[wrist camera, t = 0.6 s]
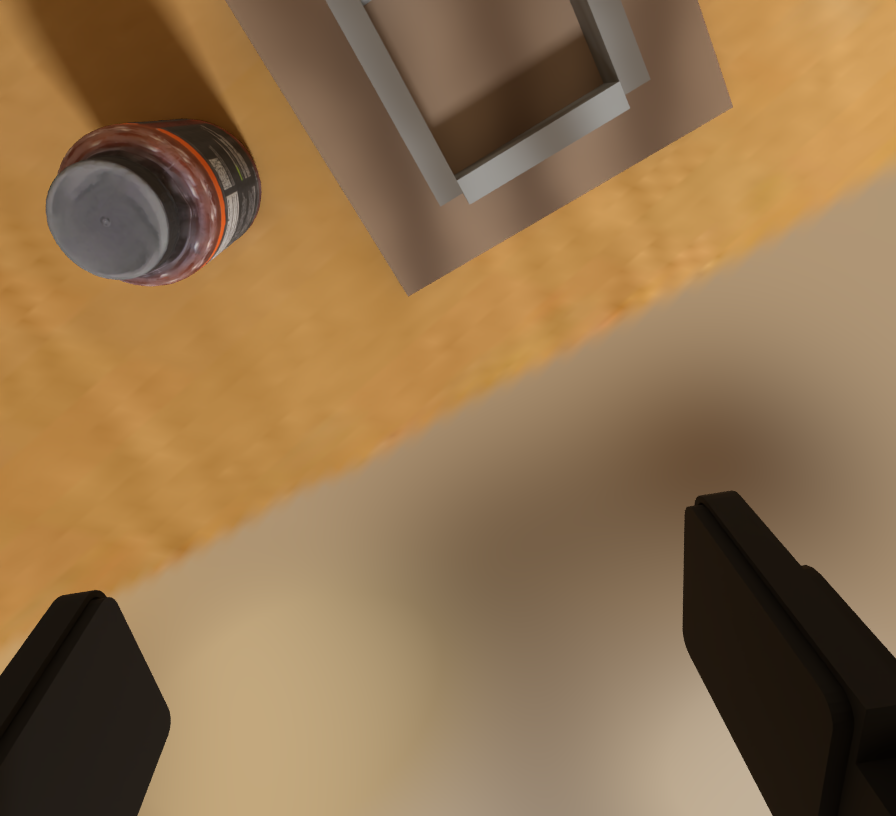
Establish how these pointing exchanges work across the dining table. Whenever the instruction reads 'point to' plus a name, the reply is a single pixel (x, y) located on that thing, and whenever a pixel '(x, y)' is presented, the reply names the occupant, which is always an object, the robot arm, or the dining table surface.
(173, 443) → the dining table surface
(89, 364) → the dining table surface
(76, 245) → the supplement bottle
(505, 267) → the dining table surface
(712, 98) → the bottle holder
